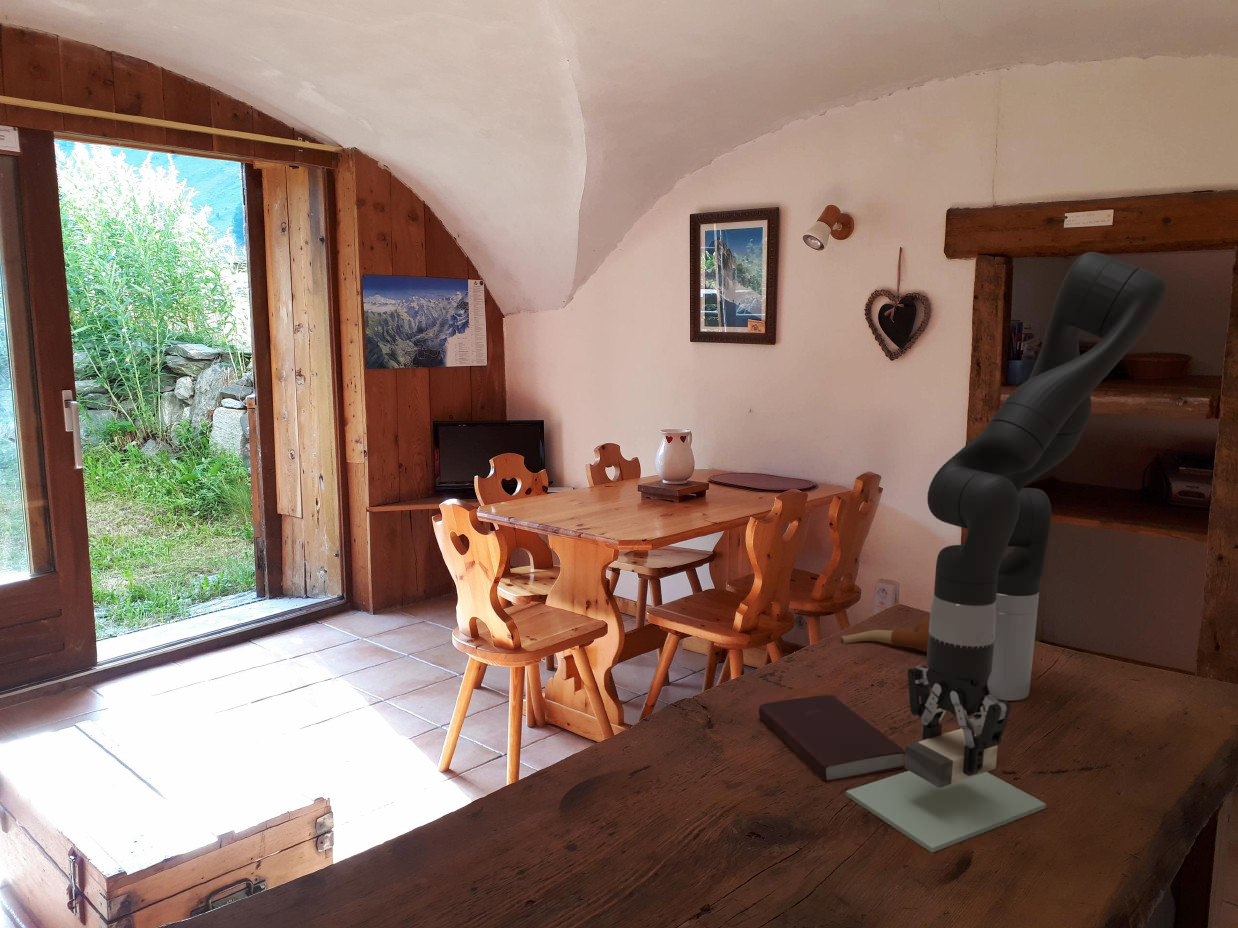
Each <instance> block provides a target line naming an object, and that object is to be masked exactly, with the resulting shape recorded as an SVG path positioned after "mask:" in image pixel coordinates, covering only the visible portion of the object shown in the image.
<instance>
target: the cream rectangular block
mask: <svg viewBox="0 0 1238 928" xmlns="http://www.w3.org/2000/svg"><path fill="white" fill-rule="evenodd" d="M975 736H976V734H975ZM966 745H967V744H966V741H965V737H964V732H963V729H961V728H959V729H958V728H957V729H955V730H950V731H949V732H945V733H943V734H942V733H941V735H939V736H936V737H933V738H930V739H925V740H922V739H921V740H919V741H916V742H912V743H909V744H907V745H905V752H906V754H905V757H904V765H905V768H904V769H905V770H907V771H911V772H912V773H914V774H916V775H918V776H919V777H921V778H923V779H925V780H926V781H928V782H930V783H932V784H933V785H935V786H937V787H939V788H941V787H944V786H947V785H950V784H953V783H956V782H958V781H961V780H964V779H967V778H970V777H973V776H976V775H978V774H981V773H984V772H990V771H992V770H995V769H996V768H997V757H998V746H999V745H997V746H994V747H991V748H988V749H985V750H984V757H983V768H982V769H981V771H979V772H978V773H977V774H974V775H971V776H968V775H966V774H964V773H963V767H964V749H965V746H966Z"/></svg>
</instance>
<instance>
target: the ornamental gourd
mask: <svg viewBox="0 0 1238 928" xmlns="http://www.w3.org/2000/svg"><path fill="white" fill-rule="evenodd" d="M929 622H930V618H924V619H921V620H920V621H919V622H918V623H917V625H916V627H915V629H914V631H909V630H908V631H906V630H896V629H895V630H886V629H873V630H868V631H863V632H859V633H854V634H848V635H841V643H842V644H844V645H846V644H852V643H857V642H870V641H871V642H872V641H873V642H879V643H886V644H890V645H893V646H897V647H905V648H913V649H916V650H918V651H921V652H924V653H926V654H927V648H928V634H929Z"/></svg>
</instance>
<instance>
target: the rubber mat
mask: <svg viewBox="0 0 1238 928" xmlns="http://www.w3.org/2000/svg"><path fill="white" fill-rule="evenodd" d="M845 796H846V797H847V798H849V799H850V800H852V801H853V802H855V803H856V804H858V805H859V806H861V807H862V808H864V809H865V810H867V811H868V812H870V813H871V814H873V815H874V816H875V817H877V818H879V819H880V820H881V821H883V822H885V823H886V824H888V825H890V826H891V827H892V828H893V829H895V830H897V831H898V832H900V833H901V834H902V835H905V836H906V837H907V838H909V839H910V840H912V841H914V842H915V843H917V844H918V845H920V846H921V847H923V848H924V849H926V850H927V851H928V852H930V853H931V854H932V853H935V852H937V851H940V850H943V849H946V848H948V847H950V846H953V845H955V844H958V843H960V842H963V841H966V840H969V839H970V838H973V837H977V836H979V835H982V834H983V833H986V832H989V831H991V830H993V829H997V828H998V827H1002V826H1003V825H1006V824H1009V823H1011V822H1014V821H1017V820H1019V819H1022V818H1024V817H1027V816H1029V815H1032V814H1035V813H1037V812H1039V811H1042V810H1044V809H1046V808H1047V803H1045V802H1043V801H1041V800H1040V799H1037V798H1036V797H1034V796H1032V795H1031V794H1029V793H1027V792H1024V791H1023V790H1021V789H1019V788H1017V787H1015V786H1014V785H1012V784H1010V783H1008V782H1006V781H1004V780H1003V779H1000V778H999V777H997V776H996V775H995V776H994V775H993V774H991V773H989V771H987V772H984V773H981V774H978V775H976V776H973V777H970V778H967V779H964V780H961V781H958V782H956V783H953V784H950V785H947V786H944V787H941V788H939V787H937V786H935V785H933V784H932V783H930V782H928V781H926V780H925V779H923V778H921V777H919V776H918V775H916V774H914V773H912V772H911V771H909V770H907V771H904V772H900V773H898V774H895V775H891V776H888V777H886V778H882V779H879V780H877V781H876V780H875V781H873V782H870V783H866V784H864V785H861V786H858V787H855V788H850V789H848V790H846V791H845Z"/></svg>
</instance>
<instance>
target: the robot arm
mask: <svg viewBox="0 0 1238 928" xmlns="http://www.w3.org/2000/svg"><path fill="white" fill-rule="evenodd" d="M1166 292H1167V282H1166V281H1165V280H1164V279H1163V277H1162V276H1160V275H1157V274H1155V273H1154V272H1151V271H1148V270H1146V269H1144V268H1141V267H1138V266H1136V265H1133V264H1130V263H1128V262H1126V261H1123V260H1120V259H1117V258H1115V257H1112V256H1111V255H1107V254H1105V253H1104V254H1103V253H1100V252H1095V251H1089V252H1088V251H1087V252H1085V253H1083V254H1082V255H1080V256H1079V257H1077V258H1076V259H1075V261H1074V262H1073V263H1072V265H1071V266H1070V268H1069V269H1068V270H1067V273H1066V274H1065V276H1064V278H1063V280H1062V282H1061V284H1060V287H1059V290H1058V292H1057V295H1056V298H1055V301H1054V304H1053V308H1052V310H1051V314H1050V317H1049V319H1048V320H1049V321H1048V324H1047V327H1046V330H1045V333H1044V336H1043V337H1044V338H1043V341H1042V343H1041V347H1040V350H1039V354H1038V356H1037V359H1036V361H1035V363H1034V366H1033V369H1032V370H1031V373H1030V376H1029V377H1028V380H1026V381H1025V382H1023V383H1022V384H1020V385H1019V386H1017V387H1016V388H1015V389H1014V390H1013V391H1012V392H1011V393H1010V394H1009V395H1008V397H1006V399H1005V400H1004V401H1003V402H1002V404H1001V406H1000V407H999V409H998V410H997V411H996V412H995V414H994V416H992V418H991V420H990V421H989V423H988V424H987V425H986V427H985V429H984V430H983V431H982V432H981V433H980V434H979V435H978V436H976V437H975V438H974V439H972V440H971V441H969V442H968V443H967V444H965V446H964V447H962V448H961V449H960V450H959V451H957V452H956V453H955V454H954V455H953V456H952V457H951V458H949V459H948V460H947V461H946V462H945V463H944V464H943V465H942V466H941V467H940V468H939V469H938V470H937V472H936V473H935V474H934V476H933V478H932V480H931V481H930V483H929V485H928V486H929V487H928V491H927V496H926V497H927V499H926V500H927V506H928V509H929V512H930V513H931V515H933V517H934V518H935V519H936V520H939V521H941V522H943V523H945V524H949V525H951V526H955V527H959V528H963V529H966V530H967V535H966V537H965V540H964V543H963V544H952V545H948V546H946V547H945V546H944V548H942V549H940V551H939V552H938V554H937V558H936V562H935V577H934V587H933V597H932V601H931V607H930V611H929V619H930V622H929V634H928V648H927V653H926V665H927V666H926V665H923V664H922V665H918V666H914V667H911V668H908V669H907V681H908V683H907V684H908V696H909V705H910V706H909V708H910V709H909V710H910V713H911V714H912V715H913V716H917V717H919V719H920V721H921V724H923V727H922V739H921V741H922V740H925V739H930V738H933V737H936V736H939V735H942V733H943V732H942V729H943V724H942V723H940V722H941V721H942V719H943V718H944V716H945V714H946V712H947V711H948V712H950V713H951V714H953V716H955V717H956V719H957V724H958V727H959V729H963V732H964V737H965V741H966V744H967V745H966V746H965V749H964V767H963V773H964V774H966V775H968V776H971V775H974V774H977V773H978V772H979V771H981V769H982V768H983V757H984V750H985V749H988V748H991V747H994V746H999V745H1000V744H1002V743H1001V742H1002V739H1003V736H1004V732H1005V729H1006V725H1007V723H1008V719H1009V715H1010V712H1011V708H1012V706H1011V703H1010V702H1009V701H1020V700H1021V701H1022V700H1025V699H1026V698H1028V697H1029V695H1030V689H1031V688H1030V687H1031V678H1032V669H1033V668H1032V667H1033V658H1034V648H1035V640H1036V631H1037V630H1036V629H1037V628H1036V627H1037V619H1038V607H1039V600H1040V599H1039V598H1040V596H1039V595H1040V588H1041V582H1042V579H1043V576H1044V574H1045V573H1044V572H1045V566H1046V556H1047V550H1048V544H1049V538H1050V533H1051V527H1052V525H1051V524H1052V507H1051V501H1050V498H1049V497H1048V495H1047V493H1046V492H1045V491H1044V490H1042V489H1040V488H1033V487H1025V486H1027V485H1028V484H1029V483H1031V482H1032V481H1033V480H1036V479H1037V478H1038V477H1040V476H1042V475H1044V473H1046V472H1048V471H1049V470H1050V469H1052V468H1054V467H1055V466H1057V465H1058V464H1060V462H1062V461H1064V460H1065V459H1066V458H1067V457H1069V455H1070V454H1071V453H1072V452H1073V451H1074V449H1075V448H1076V446H1077V445H1078V443H1079V441H1080V439H1081V437H1082V435H1083V432H1084V431H1085V429H1086V426H1087V424H1088V422H1089V419H1090V417H1091V413H1092V410H1093V409H1092V408H1093V407H1092V396H1091V393H1092V392H1093V390H1095V388H1097V386H1098V385H1100V383H1101V382H1102V381H1103V380H1104V379H1105V378H1106V377H1107V375H1109V373H1111V371H1112V370H1113V369H1114V368H1115V367H1116V366H1117V365H1118V363H1119V362H1120V361H1121V360H1122V359H1123V358H1124V357H1125V355H1127V353H1128V352H1129V351H1130V350H1131V349H1132V348H1133V346H1135V344H1136V343H1137V341H1139V340H1140V339H1141V337H1142V336H1143V334H1144V333H1145V332H1146V331H1147V329H1148V328H1149V326H1150V325H1151V324H1152V322H1153V321H1154V318H1156V316H1157V314H1158V312H1159V311H1160V308H1161V307H1162V304H1163V301H1164V298H1165V295H1166ZM1081 330H1082V331H1085V332H1087V333H1088V334H1091V335H1094V336H1096V337H1099V338H1101V339H1100V340H1099V341H1098V342H1096V344H1095V345H1093V346H1092V347H1091V348H1090V349H1089V350H1087V351H1086V352H1084V353H1082V354H1081V355H1080V345H1079V343H1080V332H1081ZM1008 547H1013V548H1012V550H1011V551H1010V552H1008V553H1007V554H1006V550H1007V548H1008ZM1005 554H1006V555H1005ZM930 692H931V693H930ZM983 706H984V707H983ZM984 708H985V709H984ZM972 715H973V717H972V718H970V719H969V716H972ZM975 735H976V736H975Z"/></svg>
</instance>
